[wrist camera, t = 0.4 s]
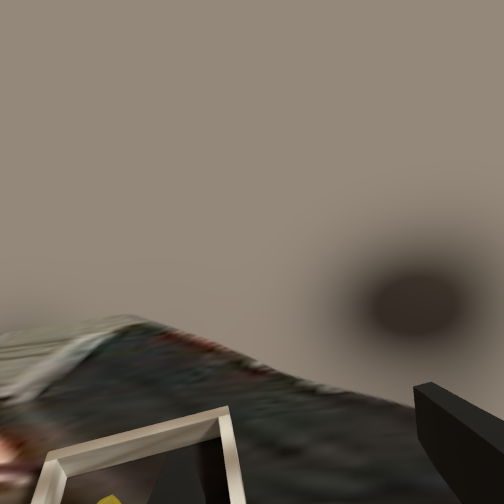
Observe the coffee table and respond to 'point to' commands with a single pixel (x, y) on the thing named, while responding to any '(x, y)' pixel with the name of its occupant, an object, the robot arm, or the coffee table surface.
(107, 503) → the candle
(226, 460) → the trap channel
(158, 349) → the coffee table surface
